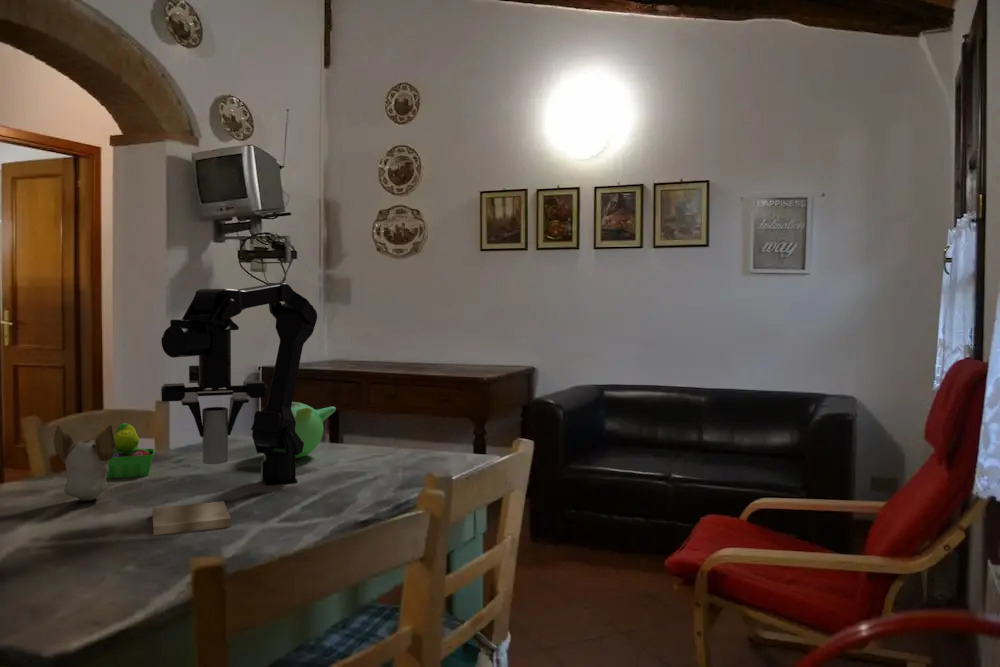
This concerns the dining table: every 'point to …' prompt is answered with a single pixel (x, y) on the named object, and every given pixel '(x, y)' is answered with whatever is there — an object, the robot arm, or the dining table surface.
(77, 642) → the dining table surface
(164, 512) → the oak block
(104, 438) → the white eared plush toy
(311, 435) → the toy bird
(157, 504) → the dining table surface
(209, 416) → the grey hollow cylinder
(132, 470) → the fruit basket
